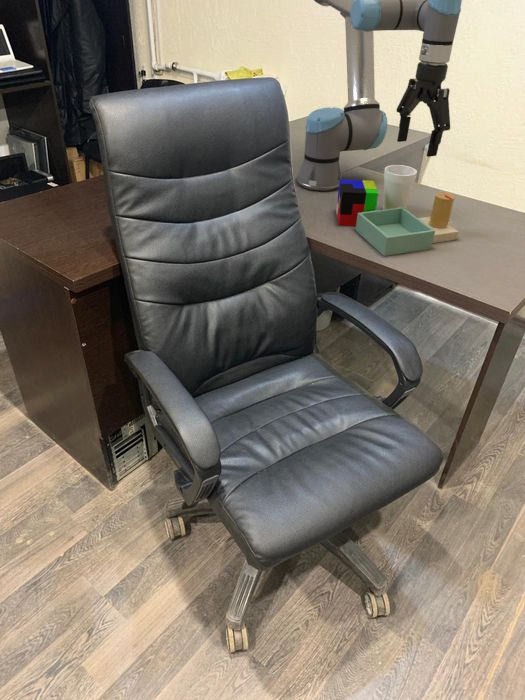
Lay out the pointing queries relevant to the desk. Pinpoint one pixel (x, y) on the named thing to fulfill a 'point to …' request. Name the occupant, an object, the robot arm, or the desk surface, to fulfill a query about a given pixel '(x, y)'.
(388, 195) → the foam cup
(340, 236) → the desk surface
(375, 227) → the basin
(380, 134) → the robot arm
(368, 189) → the puzzle toy
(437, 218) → the tap handle
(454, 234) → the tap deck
